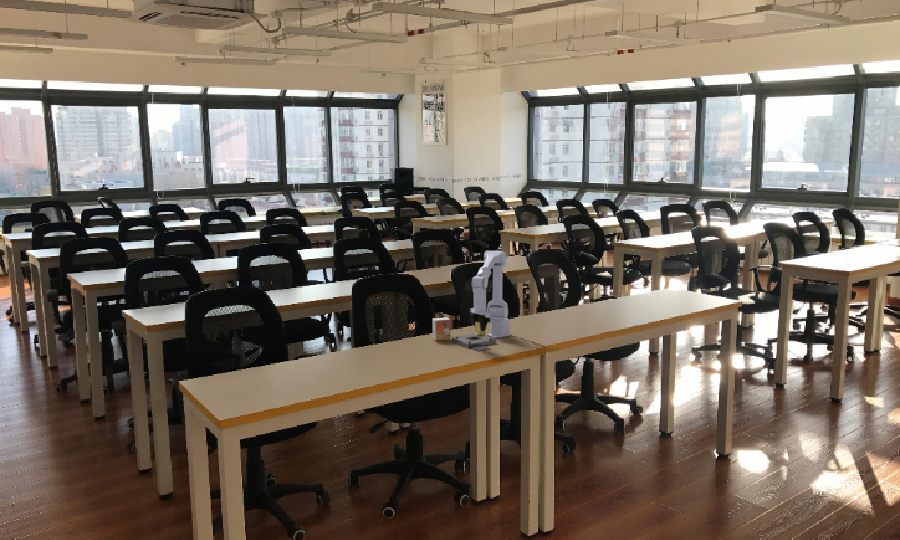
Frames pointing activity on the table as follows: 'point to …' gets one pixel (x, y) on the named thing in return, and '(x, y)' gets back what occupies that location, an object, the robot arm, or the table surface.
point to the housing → (473, 340)
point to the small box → (441, 329)
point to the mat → (480, 348)
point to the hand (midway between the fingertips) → (480, 329)
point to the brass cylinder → (478, 329)
